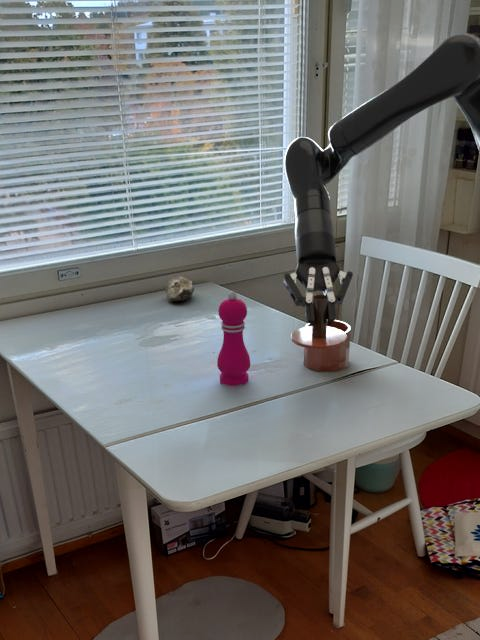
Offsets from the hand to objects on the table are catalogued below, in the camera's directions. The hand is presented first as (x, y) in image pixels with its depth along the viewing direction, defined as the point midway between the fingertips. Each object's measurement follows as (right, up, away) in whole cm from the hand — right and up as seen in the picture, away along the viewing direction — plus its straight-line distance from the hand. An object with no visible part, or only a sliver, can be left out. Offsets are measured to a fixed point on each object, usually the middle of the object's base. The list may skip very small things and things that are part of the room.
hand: (321, 323), depth 148 cm
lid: (0, -2, +4) cm, 4 cm away
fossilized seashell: (-32, +26, +72) cm, 83 cm away
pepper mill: (-17, -6, +25) cm, 30 cm away
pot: (+4, 0, +33) cm, 33 cm away
